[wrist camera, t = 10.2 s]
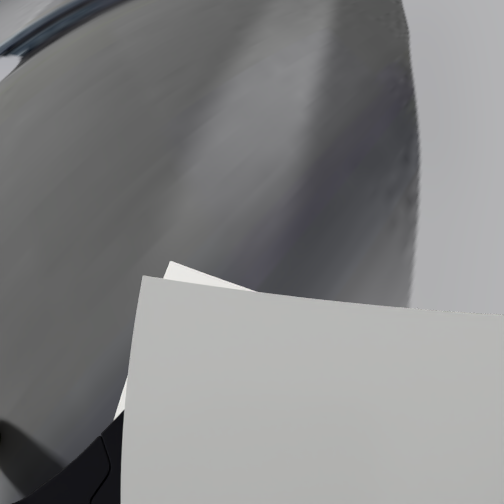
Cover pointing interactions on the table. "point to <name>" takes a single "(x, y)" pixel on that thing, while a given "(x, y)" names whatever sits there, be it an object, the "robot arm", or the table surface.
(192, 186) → the table surface
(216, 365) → the stone pillar
